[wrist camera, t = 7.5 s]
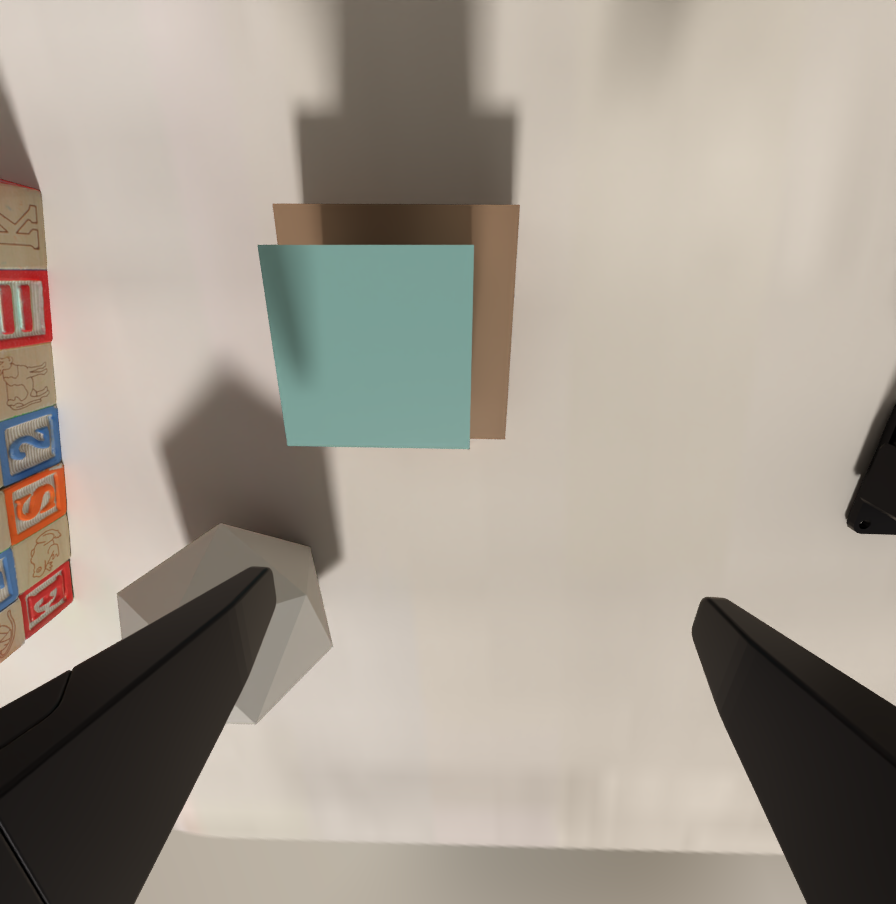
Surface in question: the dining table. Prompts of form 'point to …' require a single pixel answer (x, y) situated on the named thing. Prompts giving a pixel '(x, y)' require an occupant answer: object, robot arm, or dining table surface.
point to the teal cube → (372, 343)
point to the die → (291, 627)
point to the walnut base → (437, 226)
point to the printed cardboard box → (28, 431)
